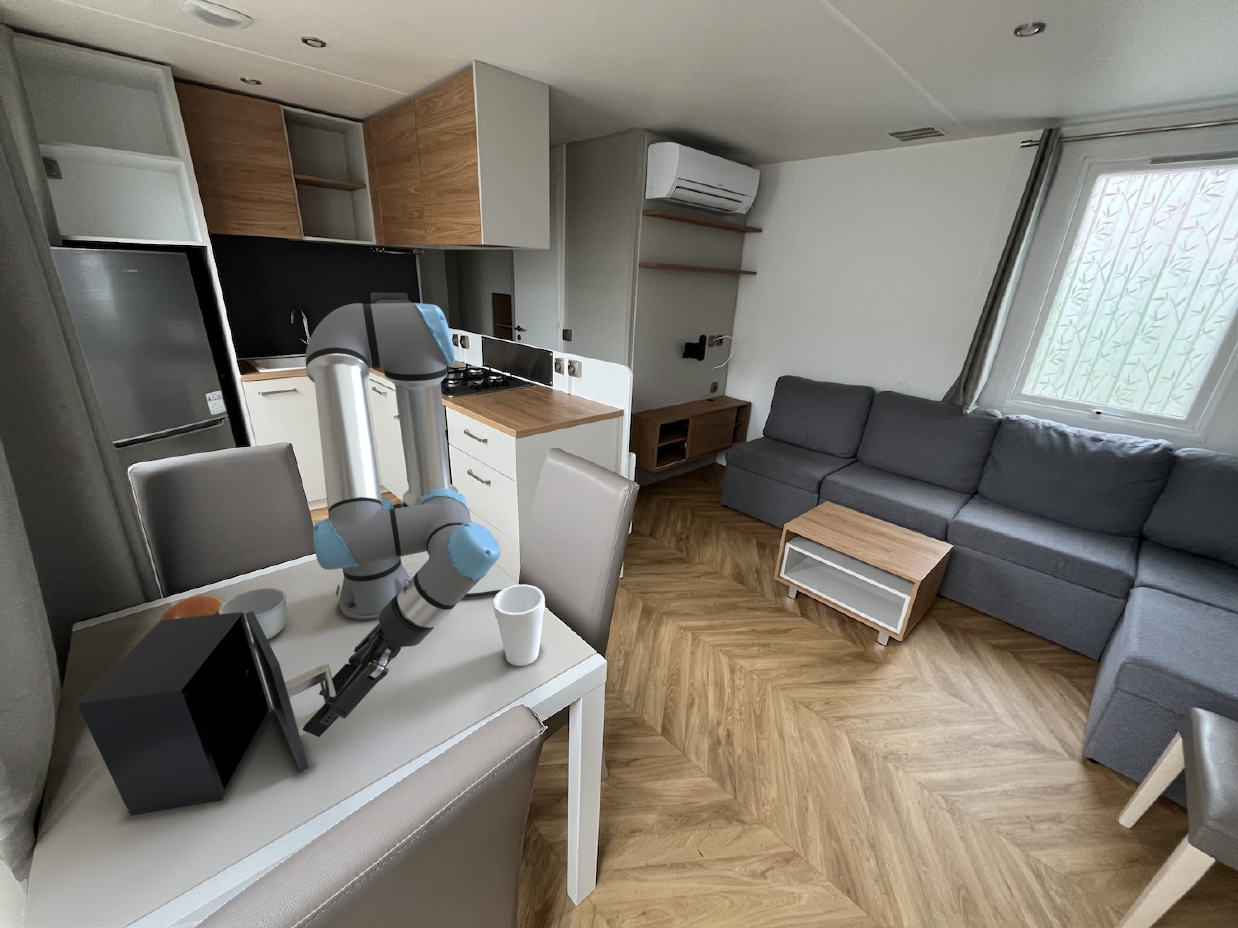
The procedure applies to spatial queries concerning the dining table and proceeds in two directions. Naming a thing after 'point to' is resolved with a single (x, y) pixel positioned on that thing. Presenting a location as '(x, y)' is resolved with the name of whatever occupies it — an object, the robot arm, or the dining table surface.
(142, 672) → the fridge
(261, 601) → the teacup
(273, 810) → the dining table surface
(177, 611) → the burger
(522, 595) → the foam cup
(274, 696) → the fridge door
